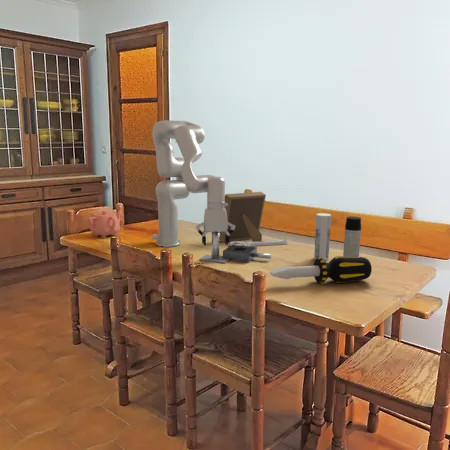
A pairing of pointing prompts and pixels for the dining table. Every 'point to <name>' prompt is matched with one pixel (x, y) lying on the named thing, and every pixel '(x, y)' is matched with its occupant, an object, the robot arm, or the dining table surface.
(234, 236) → the photo frame
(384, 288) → the dining table surface
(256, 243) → the wrench
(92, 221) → the teapot
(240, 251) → the block
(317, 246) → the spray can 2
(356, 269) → the screwdriver
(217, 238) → the key
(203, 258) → the mat
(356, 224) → the spray can
